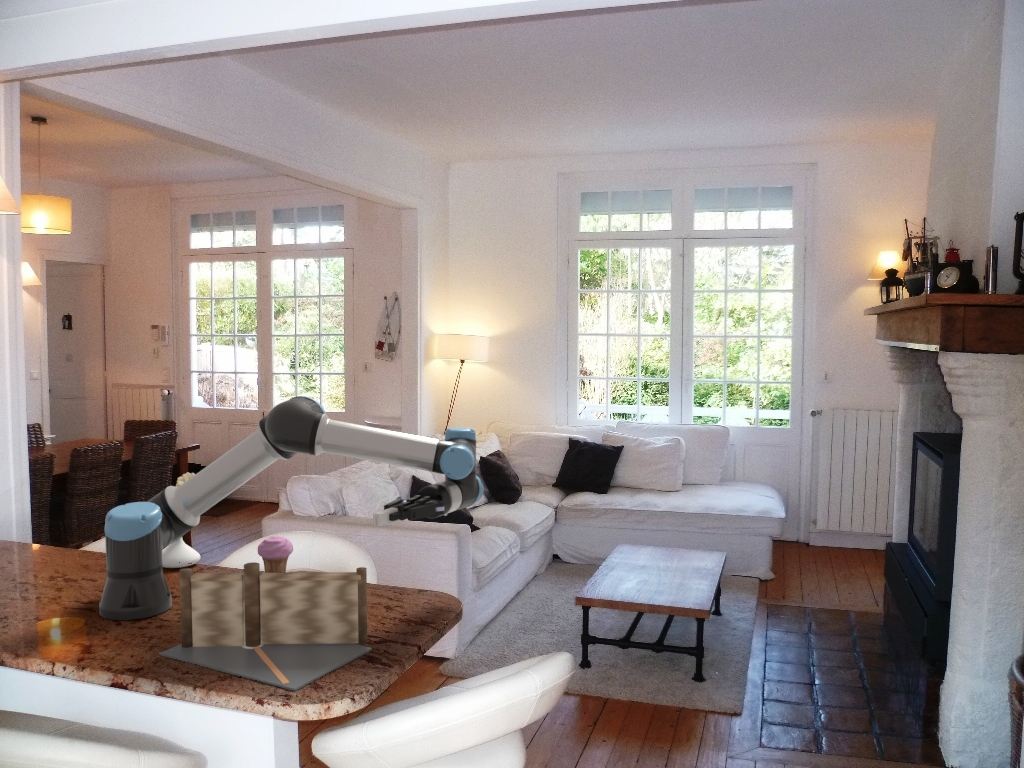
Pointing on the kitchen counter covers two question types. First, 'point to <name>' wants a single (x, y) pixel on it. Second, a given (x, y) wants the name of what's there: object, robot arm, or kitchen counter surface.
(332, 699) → the kitchen counter surface
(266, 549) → the cupcake
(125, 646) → the kitchen counter surface
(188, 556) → the flower in vase
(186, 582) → the wooden fence section
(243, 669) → the card
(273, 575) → the fence panel
